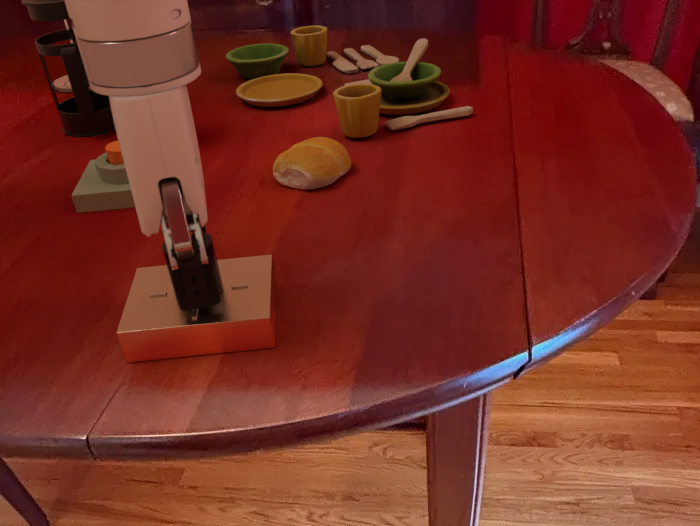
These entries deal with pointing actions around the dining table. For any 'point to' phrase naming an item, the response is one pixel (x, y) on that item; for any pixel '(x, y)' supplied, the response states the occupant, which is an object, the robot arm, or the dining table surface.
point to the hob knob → (210, 253)
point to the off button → (114, 153)
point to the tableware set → (353, 98)
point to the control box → (102, 187)
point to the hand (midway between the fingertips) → (197, 283)
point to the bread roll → (312, 164)
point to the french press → (70, 75)
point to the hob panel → (200, 313)
